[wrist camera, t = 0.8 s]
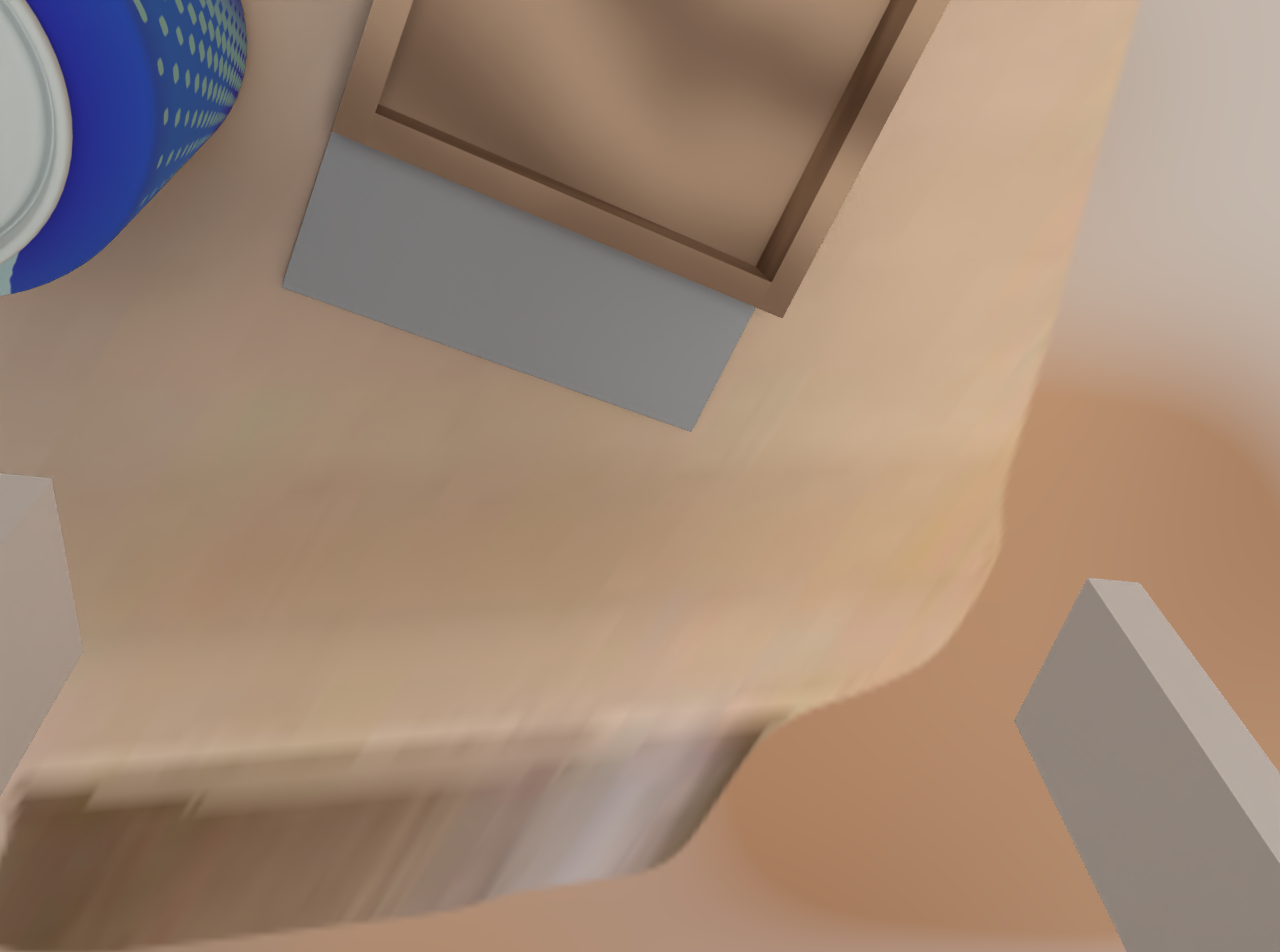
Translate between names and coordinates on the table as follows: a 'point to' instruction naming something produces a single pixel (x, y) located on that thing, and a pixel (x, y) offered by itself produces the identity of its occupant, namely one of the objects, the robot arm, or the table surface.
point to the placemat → (509, 286)
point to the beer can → (102, 117)
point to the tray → (646, 117)
